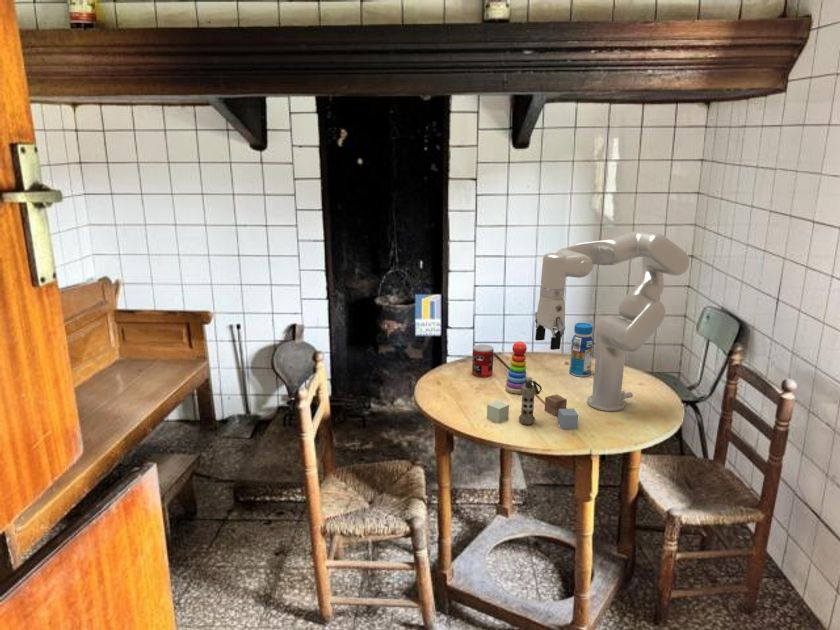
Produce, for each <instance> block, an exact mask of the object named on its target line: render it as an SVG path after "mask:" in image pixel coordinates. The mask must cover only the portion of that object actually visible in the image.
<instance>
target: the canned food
mask: <svg viewBox="0 0 840 630" xmlns="http://www.w3.org/2000/svg"><path fill="white" fill-rule="evenodd" d="M471 363H472V365H471V367H472V368H471V369H472V371H471V373H472V375H473V376H475V377H478V378H488V377H491V376H492V374H493V373H494V372H493V371H494V370H493V368H494V346H492V345H490V344H476V345H474V346H473V347H472V362H471Z"/></svg>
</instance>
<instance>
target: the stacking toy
mask: <svg viewBox="0 0 840 630" xmlns="http://www.w3.org/2000/svg"><path fill="white" fill-rule="evenodd" d="M527 348H528V347H527V345H526V343H525V342H523V341H516V342H514V343H513V345H512V349H511V350H512V352H513V354H511V360H510V365H509V370H508V372H507V373H508V375H507V377H506V378H507V379H506V381H505V382H506V384H505V387H504V388H505V390H506V392H509V393H511V394H516V395H519V394H520V395H522V392H521V391H520V390H521V386H523V385H526V384H525V380H526V377H527V366H526V365H527V361H526V358H527V357H526V355H525V354H526V353H527V351H528V350H527Z"/></svg>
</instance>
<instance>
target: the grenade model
mask: <svg viewBox="0 0 840 630" xmlns="http://www.w3.org/2000/svg"><path fill="white" fill-rule="evenodd" d="M525 384H526V385H523V386H521V390H520V391H521V392H522V393H521V396H522V397H521V408H520V409H521V412H520V415H519V416H518V421H519V422H520V423H521V424H522V425H524V426H525V425H532V424H534V423H535V420H536V418H535V415H534V406H535V395H540V394H541V392H542V391H543V387H542V386H541V385H540V384H539V383H538V382H537V381H535V380H533V378H532V377H531V376H530V377H527V376H526V380H525ZM538 387H539V388H538Z"/></svg>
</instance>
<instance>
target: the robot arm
mask: <svg viewBox="0 0 840 630" xmlns="http://www.w3.org/2000/svg"><path fill="white" fill-rule="evenodd" d="M636 258H641V267H642V268H641V269H642V271H641V277H640V279H638V282H637V283H636V284H635V285H634V286H633V288H632V289H631V290H630V291H629V292H628V293H627V295H625V296H624V297H623V299H621V301H620V303H619V305H618V309H617V311H618V314H619V315H620V316H621V317H622V318H621V317H620V316H619V317H618V316H615V315H610V314H609V315H604V316H602V317H601V318H599V319H598V320H597V322H596V324H595V327H594V328H595V329H594V337H595V344H596V345H595V360H594V361H595V362H594V371H593V375H594V376H593V384H592V394H591V395H590V396H588V397H587V399H586V400H587V401H586V403H587V405H588V406H589V407H591V408H593V409H594V410H598V411H604V412H618V411H622V410H623V409H624V408H625V406H626V403H625V401H624V400H626V399H629V398H630V399H631V398H633V397H634V395H633V392H631V391H629V392H626V391H625V390H622V389H623V380H624V368H625V361H626V355H625V353H626V352H627V353H634V352H637V351H639V349H640V348H642V347H643V346H644V344H646V343H647V341H648V340H649V339H650V338H651V337H652V336H653V335H654V333H655V332H656V331H657V330H658V328H659V327H661V324H662V323H663V321H664V320H665V316H666V308H665V305H664V304H663V302H661V300H658V299H659V298H660V296H661V295H662V294H663V291H664V286H665V282H664V281H665V280H664V278H665V277H664V274H666V275H669V276H674V277H676V276H681V275H683V274H685V273H686V272H687V271H688V269H689V267H690V258H689V255H688V253H687V252H686V251H685V250H684V249H682V248H681V247H680V246H678V245H677V244H676V243H674V242H673V241H672V240H671V239H669V238H668V237H666V236H665V235H663V234H661V233H657V232H653V231H647V230H642V229H641V230H640V229H639V230H633V231H631V232H628V233H625V234H621V235H617V236H615V237H612V238H608V239H602V240H595V241H587V242H581V243H576V244H572V245H570V246H566V247H562V248H560V249H559V250H557V252H549V253H545V254H544V255H543V257H542V265H541V279H540V287H539V288H540V289H539V290H540V291H539V299H538V303H537V305H538V306H537V311H536V312H535V313H534V318H535V319H534V322H535V338H534V340H535V341H545V339H546V338H545V337H546V329H547V330H549V331H550V332H551V335H552V336H551V339H550V347H549V349H550V350H552V351H553V350H554V351H555V350H560V349H561V342H562V338H563V335H564V334H565V331H566V325H565V316H566V304H565V292H566V291H565V290H566V280H567V277H569V278H570V277H571V278H577V279H578V278H579V279H580V278H585V277H587V276H589V275H590V274H591V272H593V269H594V265H596V266H615V265H618V264H621V263H624V262H627V261H630V260H633V259H636Z"/></svg>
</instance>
